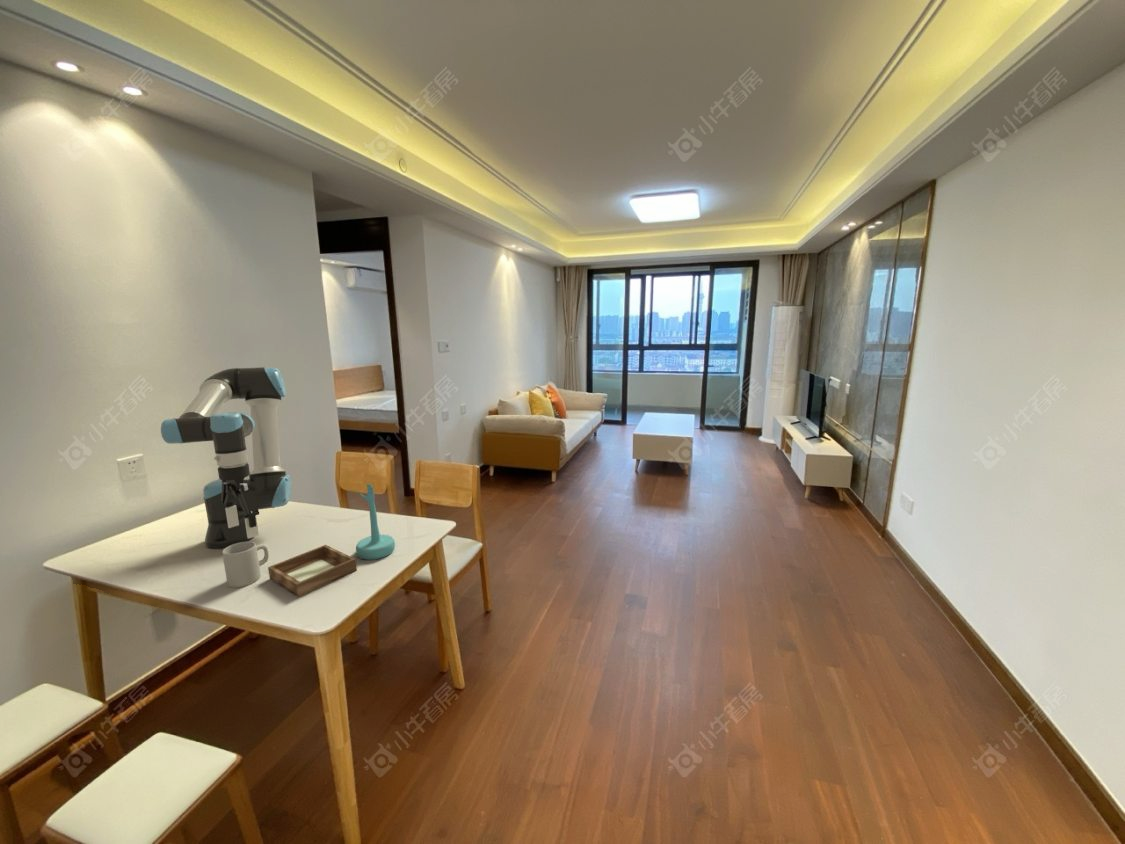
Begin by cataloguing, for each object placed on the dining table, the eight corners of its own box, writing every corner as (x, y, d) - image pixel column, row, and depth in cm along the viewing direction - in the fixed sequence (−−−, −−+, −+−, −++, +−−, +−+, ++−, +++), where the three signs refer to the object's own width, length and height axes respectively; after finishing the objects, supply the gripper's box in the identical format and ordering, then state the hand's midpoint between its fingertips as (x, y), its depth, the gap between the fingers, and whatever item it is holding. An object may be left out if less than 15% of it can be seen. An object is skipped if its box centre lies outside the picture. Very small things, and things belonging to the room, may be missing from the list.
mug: (236, 590, 133) (231, 556, 131) (221, 583, 137) (216, 550, 135) (277, 572, 143) (273, 540, 141) (262, 565, 147) (258, 534, 145)
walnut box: (269, 578, 139) (268, 567, 138) (326, 555, 154) (325, 544, 153) (298, 597, 129) (297, 584, 128) (356, 570, 144) (355, 558, 143)
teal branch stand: (377, 541, 164) (371, 476, 159) (402, 547, 159) (397, 481, 154) (348, 556, 153) (341, 487, 148) (374, 564, 148) (367, 492, 143)
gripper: (201, 461, 136) (212, 526, 140) (236, 474, 123) (247, 546, 127) (230, 456, 143) (239, 518, 147) (266, 468, 129) (275, 536, 133)
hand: (243, 531), depth 137 cm, fingers open, 13 cm apart
